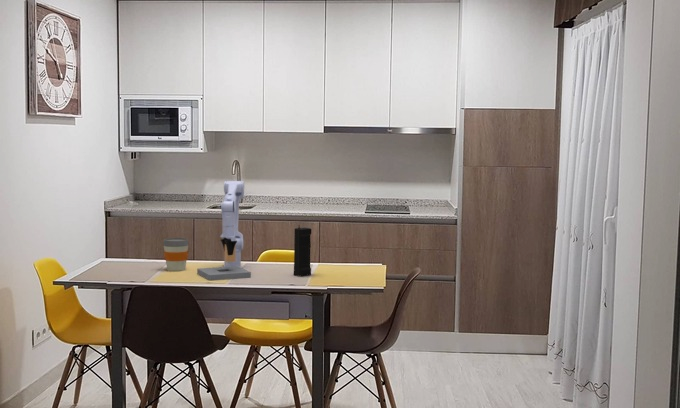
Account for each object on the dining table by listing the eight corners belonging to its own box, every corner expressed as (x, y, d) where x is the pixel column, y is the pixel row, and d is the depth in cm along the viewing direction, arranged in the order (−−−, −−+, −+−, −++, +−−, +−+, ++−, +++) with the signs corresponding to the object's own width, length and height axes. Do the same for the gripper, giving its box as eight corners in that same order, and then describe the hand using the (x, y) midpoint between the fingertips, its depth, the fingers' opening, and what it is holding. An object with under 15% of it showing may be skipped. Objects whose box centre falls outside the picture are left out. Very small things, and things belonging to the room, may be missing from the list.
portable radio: (305, 273, 388) (305, 222, 386) (313, 274, 384) (313, 223, 381) (292, 275, 383) (292, 223, 381) (300, 276, 378) (300, 224, 376)
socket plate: (197, 273, 385) (197, 268, 384) (236, 270, 394) (236, 265, 393) (209, 280, 367) (209, 275, 367) (250, 277, 376) (250, 272, 376)
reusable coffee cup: (192, 267, 402) (191, 238, 401) (184, 272, 389) (184, 241, 388) (167, 267, 403) (167, 237, 402) (159, 271, 391) (159, 241, 389)
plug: (224, 260, 382) (224, 244, 382) (232, 260, 384) (232, 243, 383) (227, 262, 379) (227, 245, 378) (235, 261, 380) (235, 244, 380)
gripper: (215, 224, 384) (215, 252, 385) (225, 228, 371) (225, 256, 373) (229, 224, 388) (229, 252, 389) (239, 227, 375) (239, 256, 376)
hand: (228, 254), depth 381 cm, fingers closed on plug, 4 cm apart
